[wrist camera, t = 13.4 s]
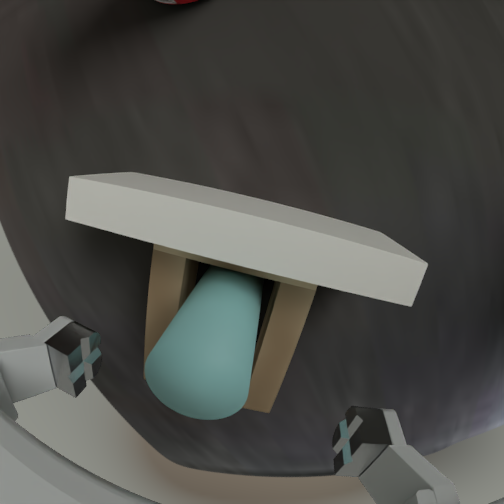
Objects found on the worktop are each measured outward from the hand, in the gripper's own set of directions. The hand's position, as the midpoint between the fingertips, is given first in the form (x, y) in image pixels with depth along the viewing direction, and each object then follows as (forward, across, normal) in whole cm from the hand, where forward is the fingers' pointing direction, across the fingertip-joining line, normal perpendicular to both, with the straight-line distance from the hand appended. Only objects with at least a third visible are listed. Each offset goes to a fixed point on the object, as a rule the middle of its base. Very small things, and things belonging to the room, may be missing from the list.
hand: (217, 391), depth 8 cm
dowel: (+11, +1, +1) cm, 11 cm away
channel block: (+11, +1, +3) cm, 11 cm away
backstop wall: (+11, +1, -4) cm, 11 cm away
